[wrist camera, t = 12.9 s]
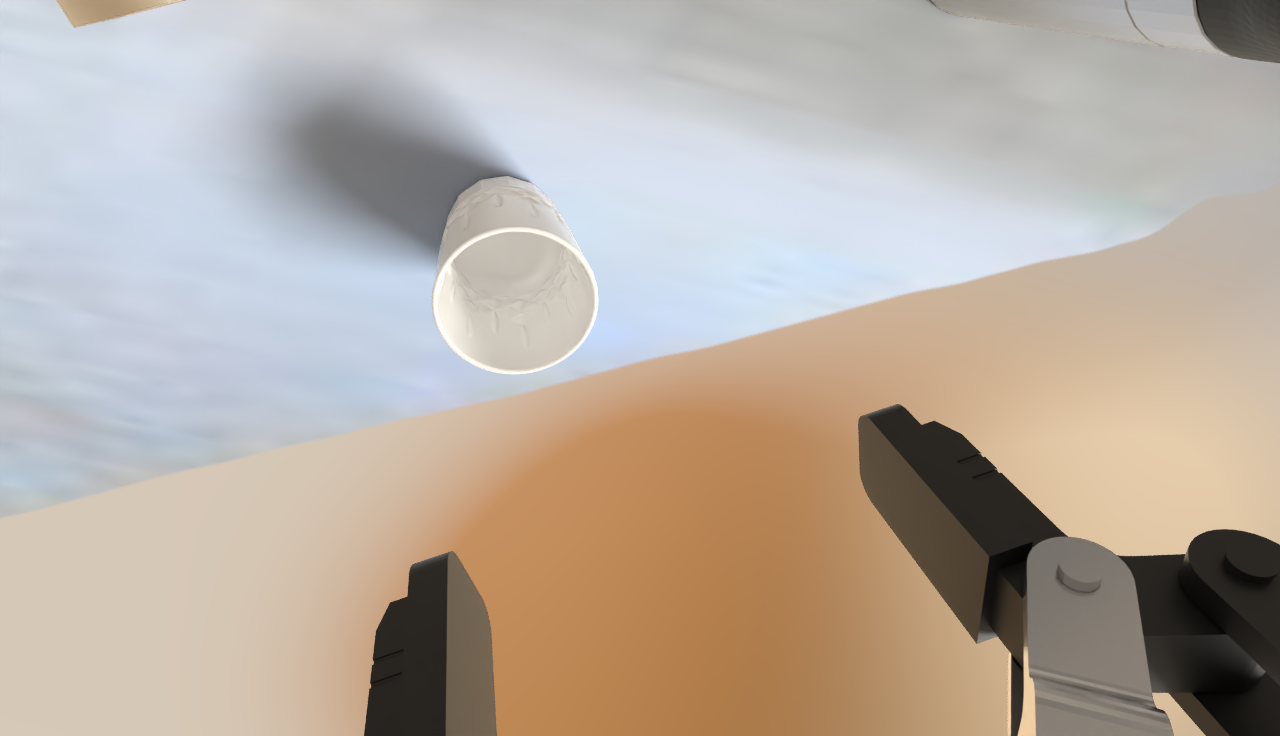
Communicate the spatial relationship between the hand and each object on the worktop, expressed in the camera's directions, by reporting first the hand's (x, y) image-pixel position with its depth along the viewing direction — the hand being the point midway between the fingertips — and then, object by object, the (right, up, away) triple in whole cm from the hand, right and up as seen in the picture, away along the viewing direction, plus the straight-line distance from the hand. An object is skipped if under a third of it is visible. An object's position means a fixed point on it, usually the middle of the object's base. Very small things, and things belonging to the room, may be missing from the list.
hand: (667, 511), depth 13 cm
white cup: (-9, +11, +27) cm, 31 cm away
